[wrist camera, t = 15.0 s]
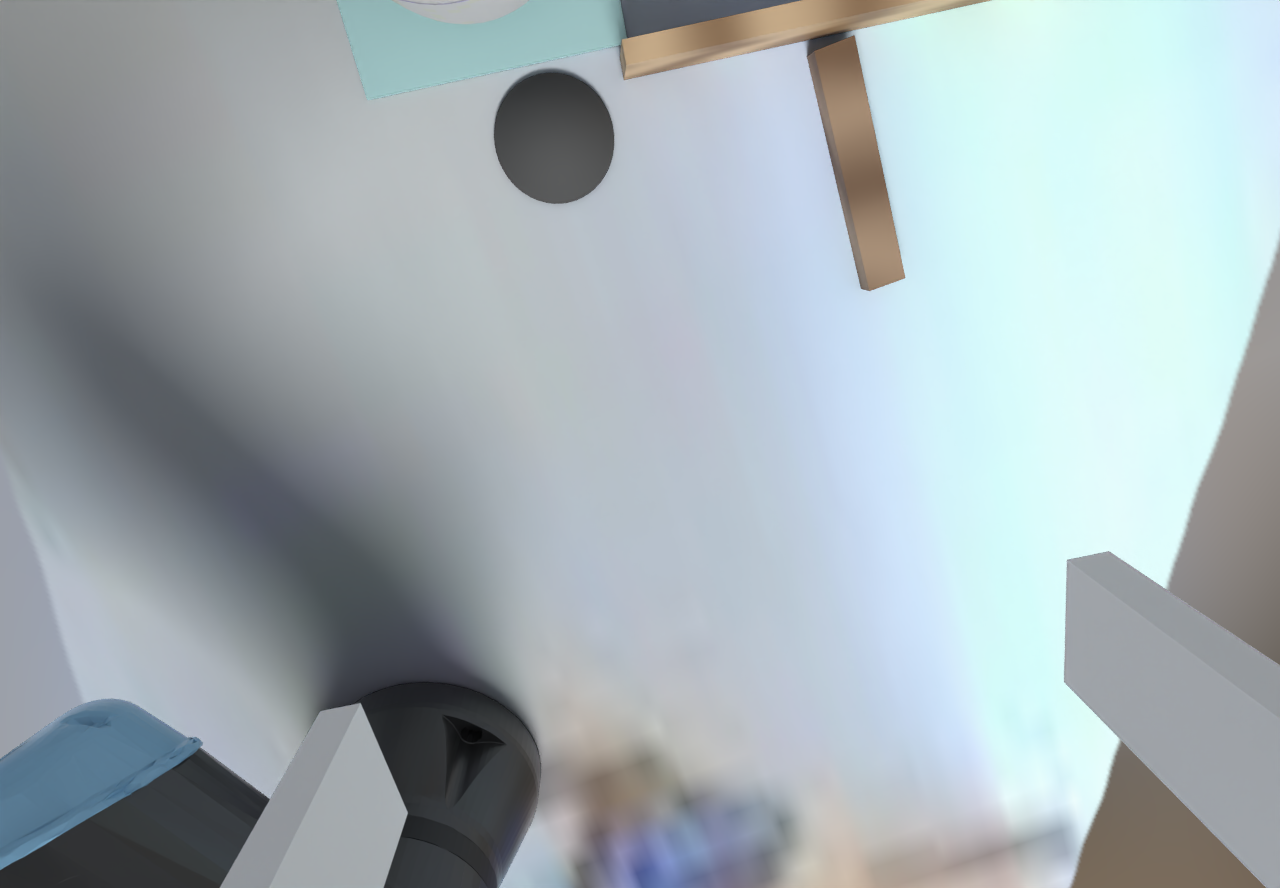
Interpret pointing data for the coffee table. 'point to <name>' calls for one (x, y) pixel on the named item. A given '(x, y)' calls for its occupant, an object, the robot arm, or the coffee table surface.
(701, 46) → the cubby
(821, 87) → the walnut bar
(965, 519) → the coffee table surface
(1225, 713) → the robot arm
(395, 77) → the mat
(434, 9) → the teacup
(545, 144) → the disc
